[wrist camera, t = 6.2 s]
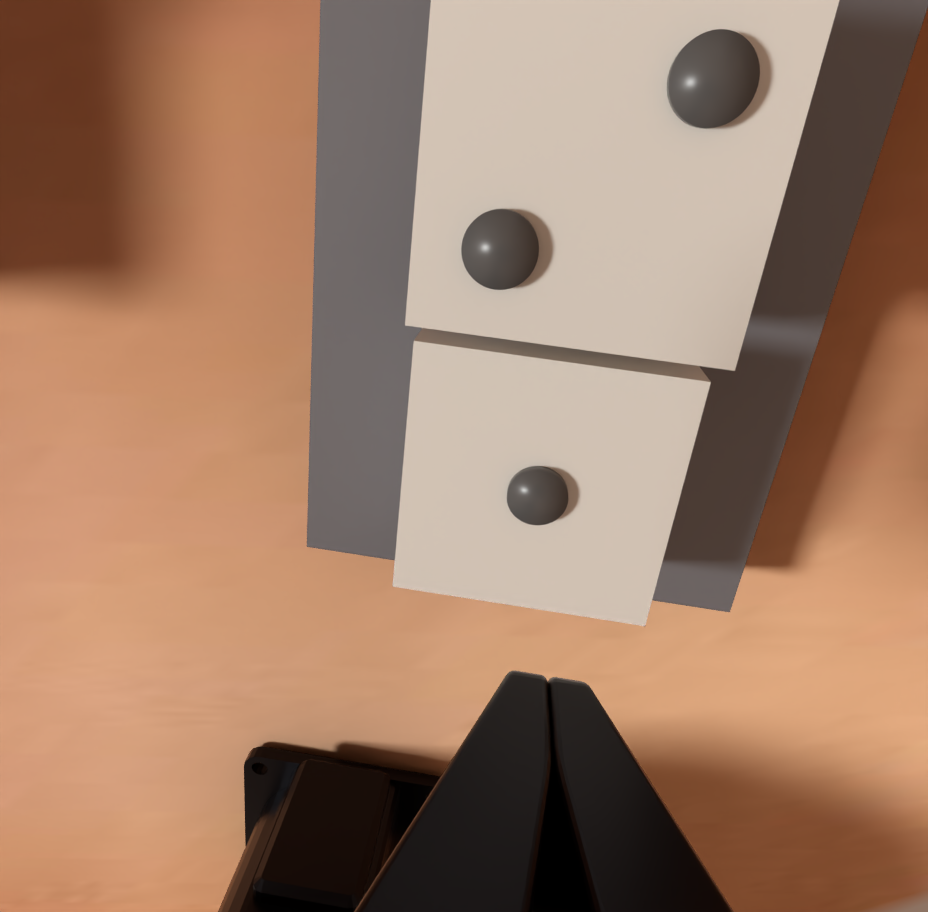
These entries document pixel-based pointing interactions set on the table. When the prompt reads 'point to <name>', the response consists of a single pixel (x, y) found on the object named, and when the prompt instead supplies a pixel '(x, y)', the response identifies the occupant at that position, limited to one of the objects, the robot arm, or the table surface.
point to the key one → (542, 473)
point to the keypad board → (730, 393)
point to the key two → (607, 168)
